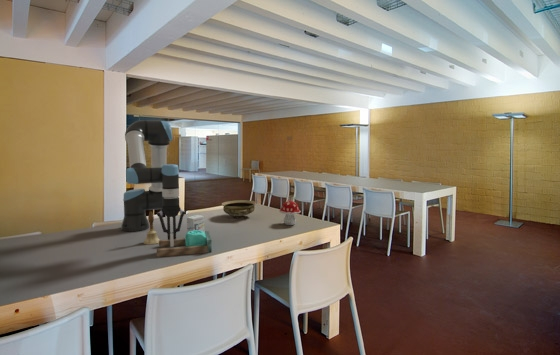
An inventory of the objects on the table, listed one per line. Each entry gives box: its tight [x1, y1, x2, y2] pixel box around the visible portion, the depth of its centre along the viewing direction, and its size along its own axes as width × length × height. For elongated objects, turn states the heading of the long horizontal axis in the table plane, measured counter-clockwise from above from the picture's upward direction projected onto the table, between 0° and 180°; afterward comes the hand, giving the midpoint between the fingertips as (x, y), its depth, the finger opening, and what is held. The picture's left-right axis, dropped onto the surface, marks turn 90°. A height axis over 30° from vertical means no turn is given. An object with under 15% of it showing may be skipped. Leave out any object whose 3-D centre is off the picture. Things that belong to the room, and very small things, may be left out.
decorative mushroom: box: [278, 200, 302, 226], centre depth 205 cm, size 14×14×15 cm
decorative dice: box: [185, 230, 206, 247], centre depth 155 cm, size 8×8×8 cm
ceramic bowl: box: [221, 199, 257, 219], centre depth 224 cm, size 30×24×10 cm
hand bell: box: [143, 211, 161, 246], centre depth 164 cm, size 8×8×16 cm
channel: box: [156, 230, 213, 258], centre depth 154 cm, size 24×16×6 cm, turn 107°
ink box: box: [186, 214, 206, 234], centre depth 173 cm, size 9×5×12 cm, turn 148°
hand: (172, 246), depth 153 cm, fingers closed
